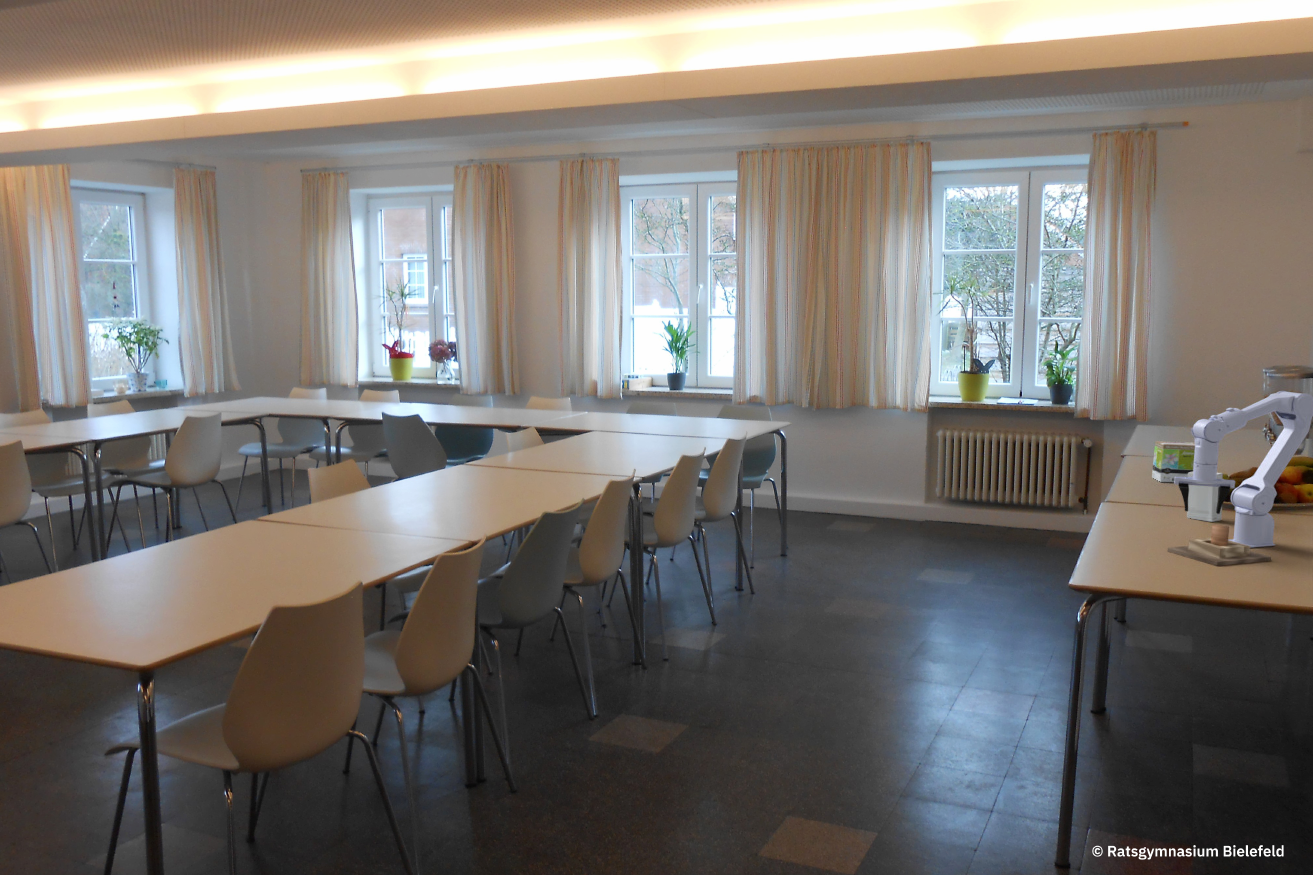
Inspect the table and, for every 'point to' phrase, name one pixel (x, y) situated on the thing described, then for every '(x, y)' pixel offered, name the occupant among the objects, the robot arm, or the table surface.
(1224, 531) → the peg
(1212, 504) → the skincare box
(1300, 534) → the table surface
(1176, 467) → the tea box
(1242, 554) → the socket
